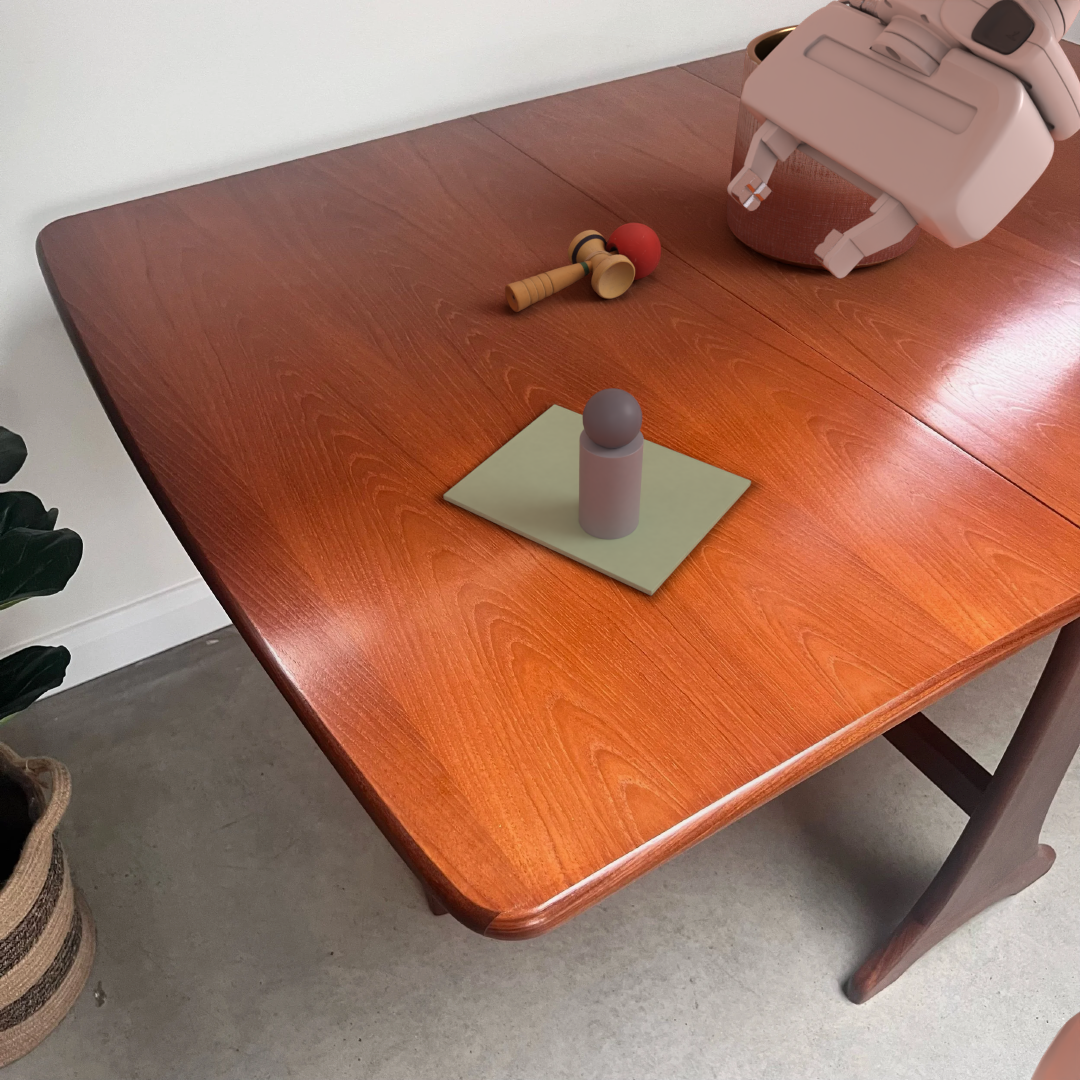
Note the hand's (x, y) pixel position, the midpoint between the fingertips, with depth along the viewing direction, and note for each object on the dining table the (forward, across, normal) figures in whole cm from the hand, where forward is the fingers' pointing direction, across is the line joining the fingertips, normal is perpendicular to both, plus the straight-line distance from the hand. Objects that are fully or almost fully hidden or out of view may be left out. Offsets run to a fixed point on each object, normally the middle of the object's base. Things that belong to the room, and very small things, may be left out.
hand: (779, 233), depth 61 cm
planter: (-8, -46, +47) cm, 66 cm away
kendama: (+14, -45, +25) cm, 53 cm away
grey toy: (+23, -9, +15) cm, 29 cm away
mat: (+23, -13, +16) cm, 31 cm away
